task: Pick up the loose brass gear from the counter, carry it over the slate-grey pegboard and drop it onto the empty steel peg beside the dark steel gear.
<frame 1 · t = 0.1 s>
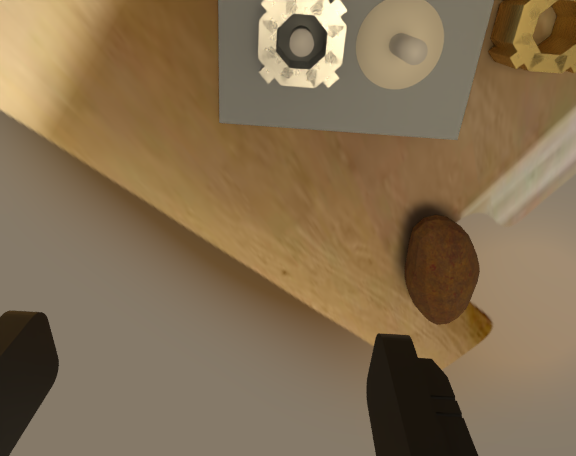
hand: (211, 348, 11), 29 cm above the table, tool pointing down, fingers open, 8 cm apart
pegboard: (348, 38, 34), on the table
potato: (430, 250, 43), on the table
steel gear: (301, 39, 31), point 4 cm above the table, hinge at 0.0°
brass gear: (532, 24, 33), on the table
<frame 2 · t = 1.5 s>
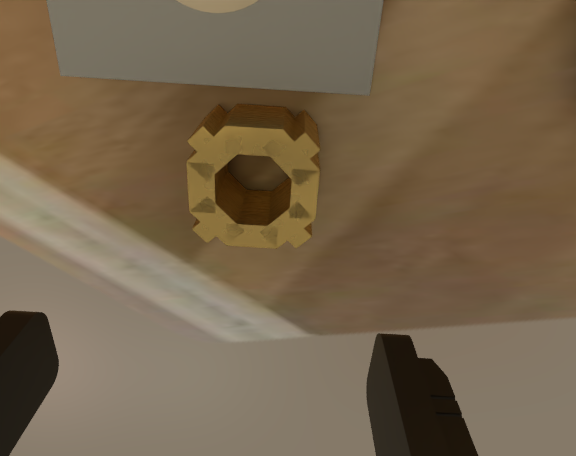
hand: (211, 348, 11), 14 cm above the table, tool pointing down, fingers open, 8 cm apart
brass gear: (260, 161, 23), on the table
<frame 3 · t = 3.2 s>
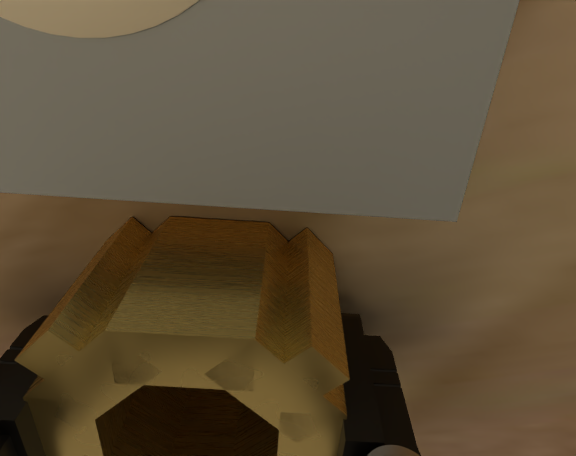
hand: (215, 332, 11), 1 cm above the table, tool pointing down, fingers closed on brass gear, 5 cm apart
brass gear: (221, 313, 12), on the table, touching gripper
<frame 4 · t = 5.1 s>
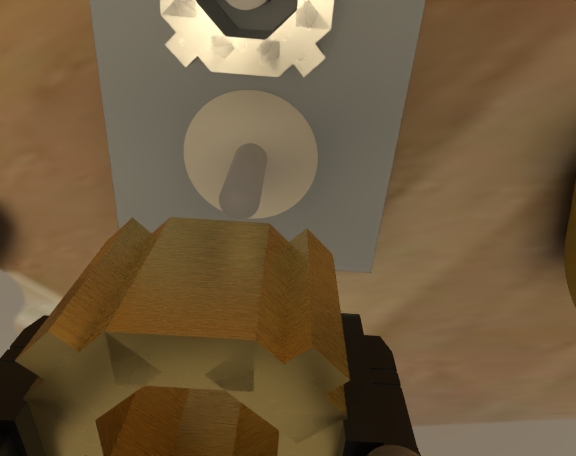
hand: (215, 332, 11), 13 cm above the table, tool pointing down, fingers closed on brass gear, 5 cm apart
pegboard: (256, 74, 21), on the table
brass gear: (221, 313, 12), point 13 cm above the table, touching gripper
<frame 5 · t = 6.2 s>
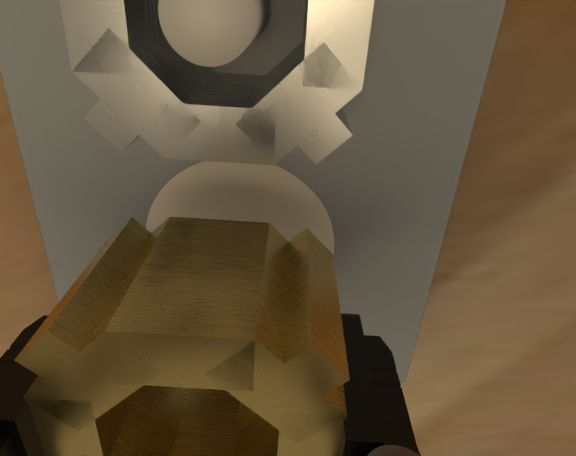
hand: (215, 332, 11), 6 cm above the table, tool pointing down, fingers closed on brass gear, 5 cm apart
pegboard: (246, 129, 15), on the table
steel gear: (230, 10, 10), point 4 cm above the table, hinge at 0.0°
brass gear: (221, 313, 12), point 5 cm above the table, touching gripper
when the fingers open (4 cm above the table, at t = 7.1 s): brass gear drops 2 cm, resting on pegboard.
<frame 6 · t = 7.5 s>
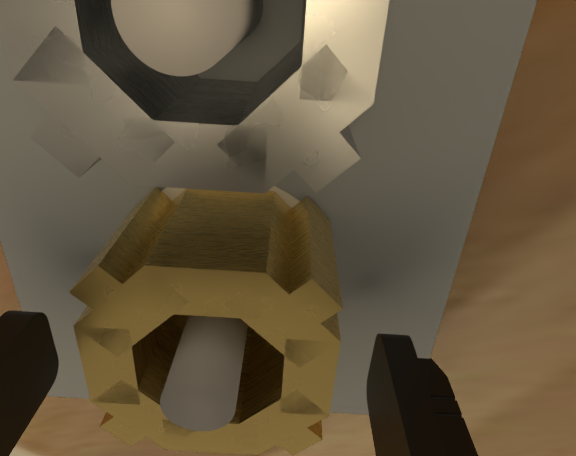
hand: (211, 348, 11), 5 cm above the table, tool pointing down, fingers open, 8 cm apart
pegboard: (236, 141, 13), on the table
steel gear: (213, 5, 8), point 4 cm above the table, hinge at 0.0°
brass gear: (232, 274, 13), point 2 cm above the table, touching pegboard
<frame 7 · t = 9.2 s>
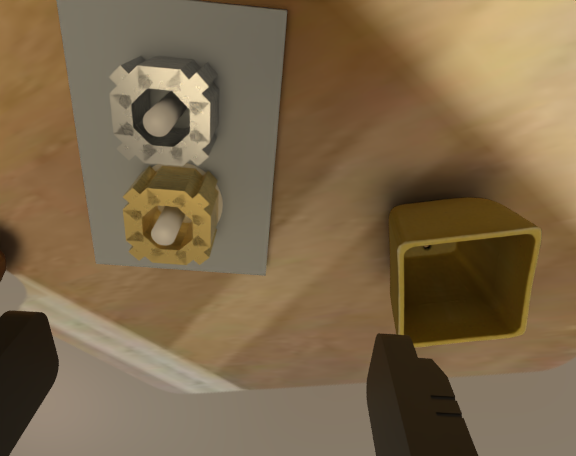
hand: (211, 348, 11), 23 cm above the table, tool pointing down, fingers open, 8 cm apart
pegboard: (182, 148, 32), on the table
steel gear: (168, 110, 27), point 4 cm above the table, hinge at 0.0°
flower pot: (425, 225, 36), on the table
brass gear: (180, 202, 33), point 2 cm above the table, touching pegboard
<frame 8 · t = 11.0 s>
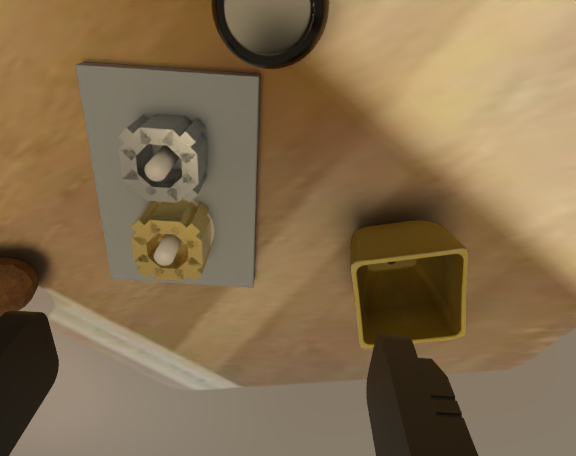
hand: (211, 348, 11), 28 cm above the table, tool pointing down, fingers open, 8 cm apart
supplement bottle: (275, 4, 32), on the table
pegboard: (179, 184, 39), on the table
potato: (2, 269, 44), on the table
steel gear: (166, 157, 34), point 4 cm above the table, hinge at 0.0°
flower pot: (389, 243, 42), on the table
brass gear: (179, 228, 39), point 2 cm above the table, touching pegboard
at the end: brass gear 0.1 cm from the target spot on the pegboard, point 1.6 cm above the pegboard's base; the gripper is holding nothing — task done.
